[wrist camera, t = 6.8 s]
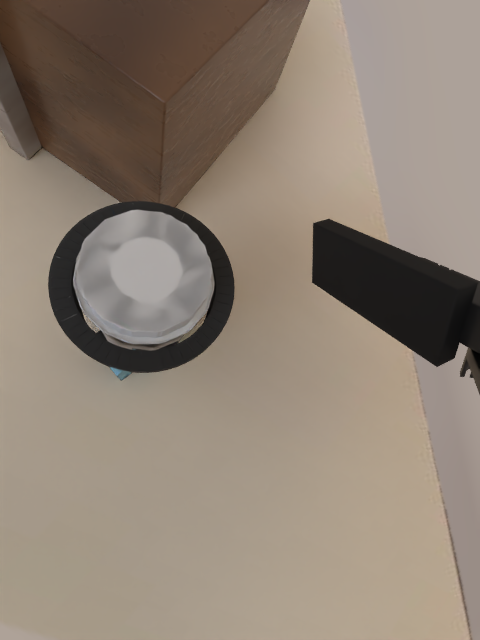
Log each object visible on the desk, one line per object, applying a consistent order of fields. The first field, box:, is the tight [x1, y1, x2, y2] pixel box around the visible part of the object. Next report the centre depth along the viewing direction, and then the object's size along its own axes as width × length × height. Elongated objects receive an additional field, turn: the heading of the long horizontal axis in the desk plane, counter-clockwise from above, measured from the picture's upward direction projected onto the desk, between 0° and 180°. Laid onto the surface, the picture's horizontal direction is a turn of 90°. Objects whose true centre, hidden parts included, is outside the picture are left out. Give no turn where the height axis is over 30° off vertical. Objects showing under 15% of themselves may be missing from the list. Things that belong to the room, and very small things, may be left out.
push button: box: [48, 201, 234, 380], centre depth 15 cm, size 7×5×10 cm
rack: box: [0, 0, 310, 208], centre depth 18 cm, size 9×16×12 cm, turn 149°
